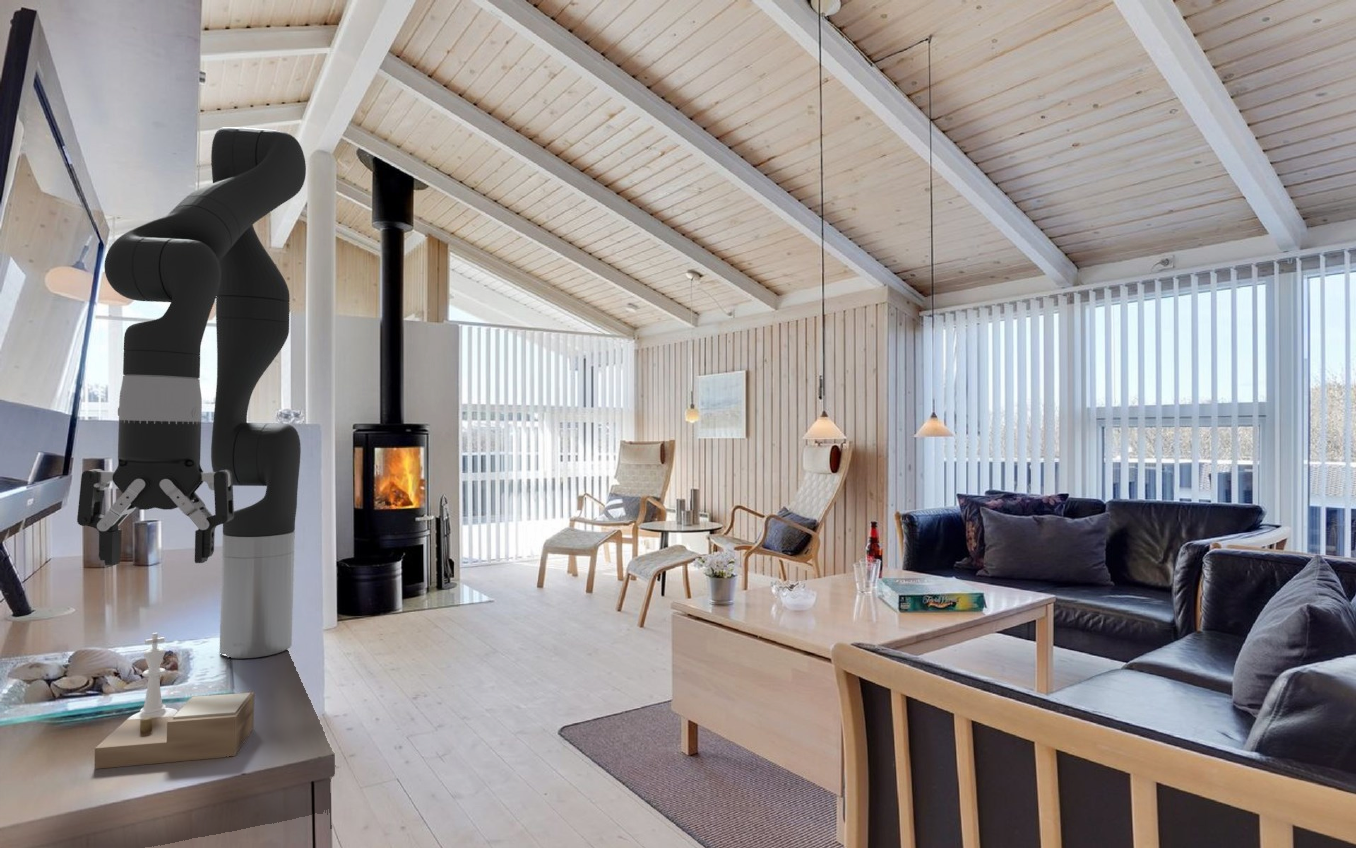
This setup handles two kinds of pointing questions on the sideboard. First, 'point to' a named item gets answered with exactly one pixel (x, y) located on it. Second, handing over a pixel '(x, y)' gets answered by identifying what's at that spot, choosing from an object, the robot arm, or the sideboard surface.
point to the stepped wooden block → (182, 733)
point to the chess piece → (154, 682)
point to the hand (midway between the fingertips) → (157, 563)
